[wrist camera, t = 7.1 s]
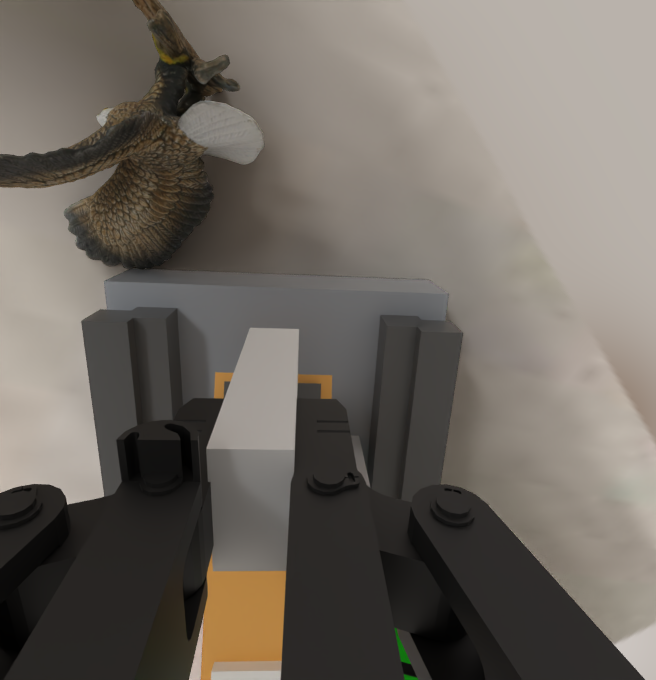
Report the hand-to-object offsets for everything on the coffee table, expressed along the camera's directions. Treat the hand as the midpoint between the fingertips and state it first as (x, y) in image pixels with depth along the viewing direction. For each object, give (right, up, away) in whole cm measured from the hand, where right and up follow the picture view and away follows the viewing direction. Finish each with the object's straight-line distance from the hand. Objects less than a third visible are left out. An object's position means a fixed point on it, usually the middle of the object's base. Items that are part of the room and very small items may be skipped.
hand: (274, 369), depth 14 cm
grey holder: (-1, -4, +10) cm, 10 cm away
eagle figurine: (-6, +9, +5) cm, 12 cm away
